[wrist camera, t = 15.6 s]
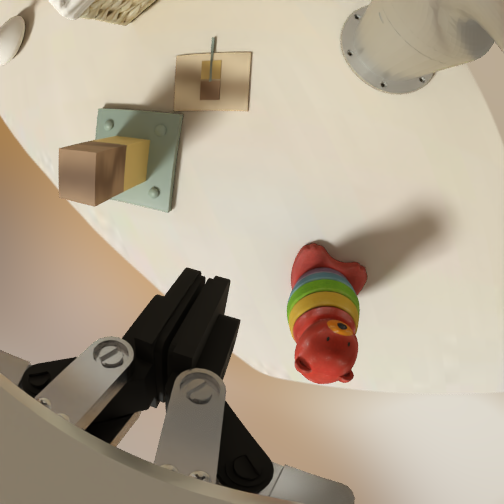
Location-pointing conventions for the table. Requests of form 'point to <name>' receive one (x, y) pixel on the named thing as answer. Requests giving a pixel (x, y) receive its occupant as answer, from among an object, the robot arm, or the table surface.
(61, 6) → the storage basket
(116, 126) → the baseplate
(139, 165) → the mustard cube
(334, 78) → the table surface
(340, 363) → the stacking bear
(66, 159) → the walnut cube
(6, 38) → the flower in vase
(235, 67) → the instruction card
